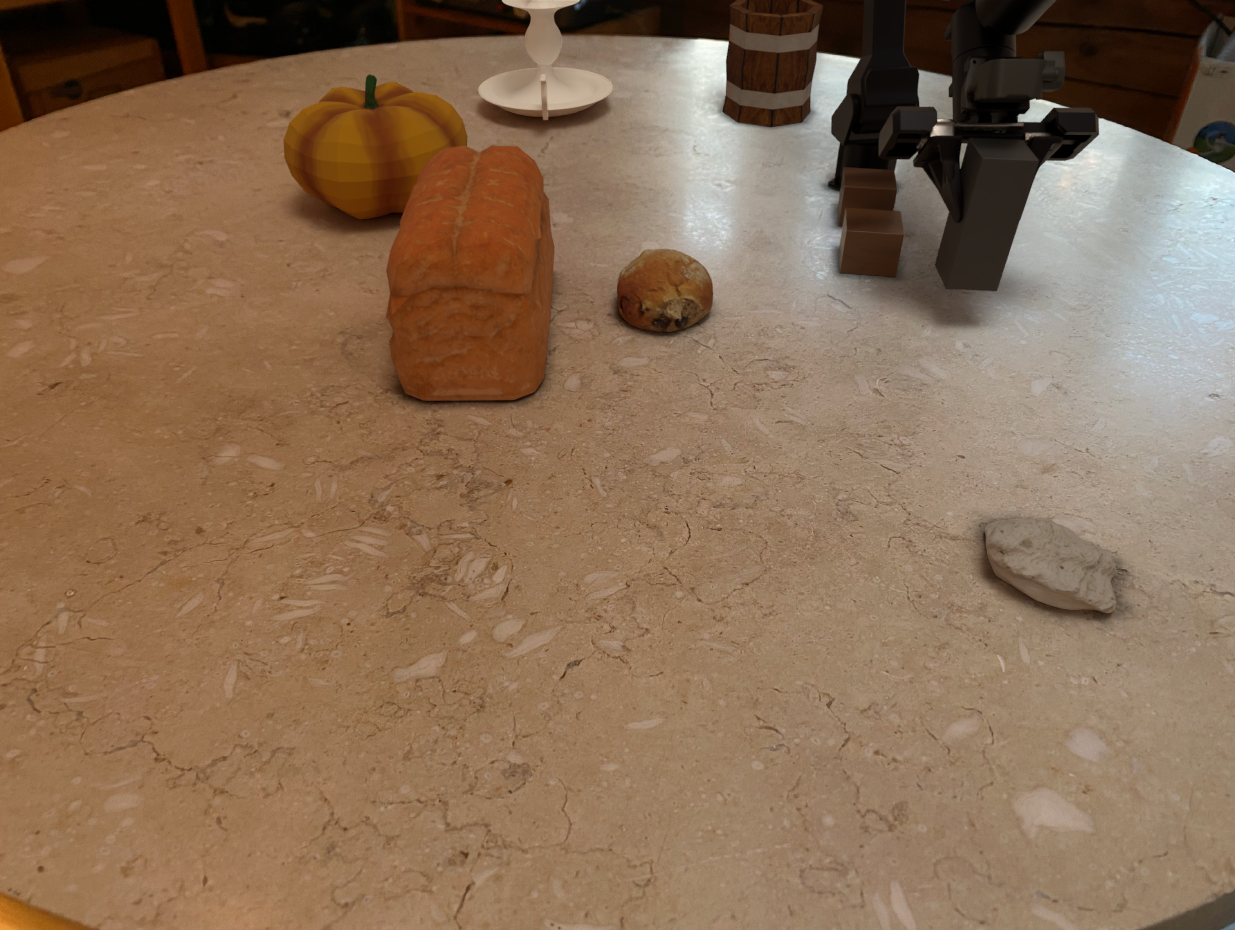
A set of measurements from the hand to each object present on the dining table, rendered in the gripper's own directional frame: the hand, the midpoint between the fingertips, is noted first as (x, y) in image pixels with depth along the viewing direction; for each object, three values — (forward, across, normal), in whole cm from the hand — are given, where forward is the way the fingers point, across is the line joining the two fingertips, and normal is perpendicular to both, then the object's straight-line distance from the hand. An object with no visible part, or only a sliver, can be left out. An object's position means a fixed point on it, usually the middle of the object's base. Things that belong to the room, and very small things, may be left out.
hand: (987, 221), depth 87 cm
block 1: (-10, -5, +26) cm, 28 cm away
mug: (-39, -14, +55) cm, 69 cm away
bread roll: (+6, -30, +9) cm, 32 cm away
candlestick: (-36, -47, +52) cm, 79 cm away
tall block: (+4, 0, +6) cm, 7 cm away
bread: (+9, -48, +7) cm, 49 cm away
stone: (+32, -3, -17) cm, 36 cm away
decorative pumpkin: (-13, -64, +28) cm, 72 cm away
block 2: (-2, -7, +17) cm, 19 cm away
